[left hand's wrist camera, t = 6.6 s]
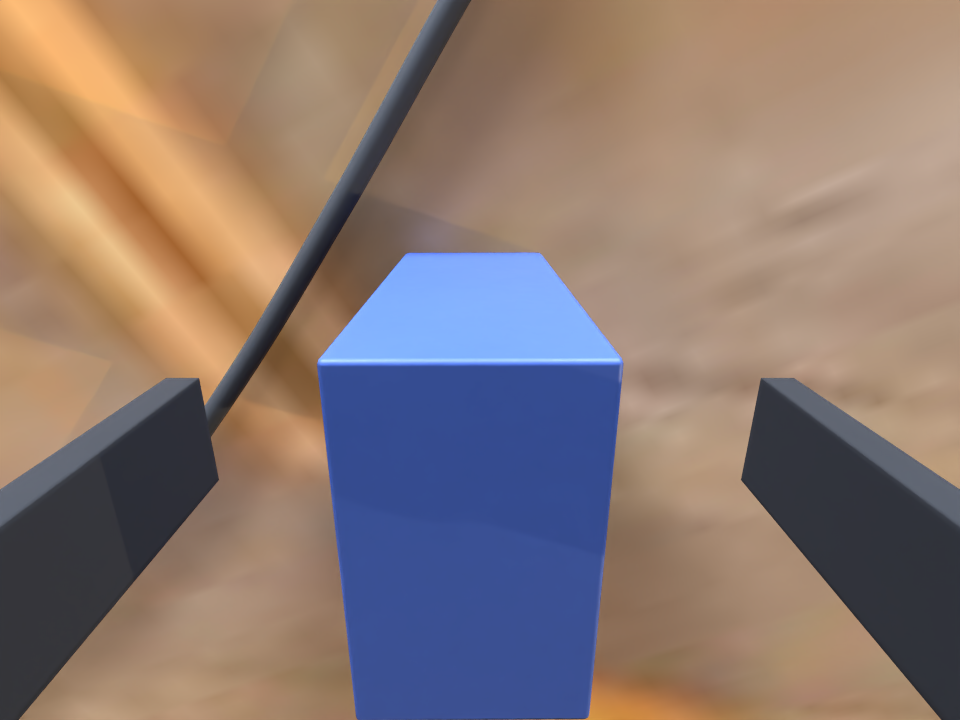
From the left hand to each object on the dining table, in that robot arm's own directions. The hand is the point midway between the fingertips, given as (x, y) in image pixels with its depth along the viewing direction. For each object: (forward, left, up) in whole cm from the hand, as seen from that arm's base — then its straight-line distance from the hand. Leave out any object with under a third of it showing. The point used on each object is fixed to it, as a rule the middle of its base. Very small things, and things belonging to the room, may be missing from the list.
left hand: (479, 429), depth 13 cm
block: (0, 0, -5) cm, 5 cm away
